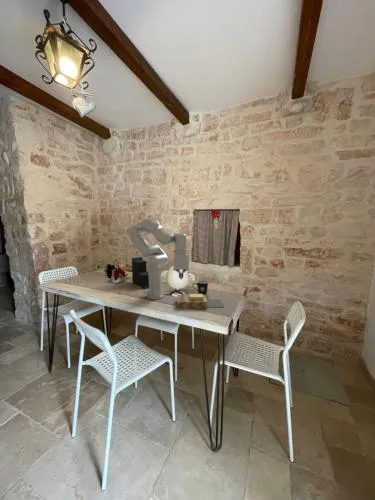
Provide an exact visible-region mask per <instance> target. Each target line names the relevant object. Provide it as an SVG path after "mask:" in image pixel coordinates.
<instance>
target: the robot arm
mask: <svg viewBox="0 0 375 500" xmlns="http://www.w3.org/2000/svg"><path fill="white" fill-rule="evenodd" d="M127 231H128V232H127V234H128V237H129V239H130V241H131V242H132V244H134V245H135V247H136V248H137V249H138V251H139V252H140V253H141V255H142V257H144V258H147V259H146V261H147V263H146V266H147V272H148V273H149V288H148V290H143V294H144V295H146V297H147V299H149V300H157V299H159V300H160V299H162V298H164V297H165V295H164V294H165V293H163V289H162V286H163V285H162V271H161V269H160V268H161V267H165V266H167V265H168V263H169V257H168V255H167V254H166V253H165V251H164V250H163V249H162V247H160V245H158V244H156V243H153V244H151V243H148V241H147V240H146V239H145V237H142V236H147V235H150V234H151V235H153V237H154V239H155V240H156V241H157V242H158V243H160V244H162V245H165V246H169V245H174V247H175V248H174V250H172V253H174V254H173V260H172V261H173V262H172V263H173V264H172V265H173V266H172V267H173V269H172V271H175V272H177V273H178V278H179V280H183V278H184V273H185V272H186V271H189V270H190V267H189V266H190V265H189V264H190V263H189V255H188V253H187V235H186V234H185V233H177V232H171V233H165V232H163V226H162V225H160V222H159V221H158V220H157V219H156V218H155V219H154V218H145V219H143V220H142V221H141V223H140V224H132V225H130V226H129V227H128V230H127Z"/></svg>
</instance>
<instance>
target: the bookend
mask: <svg viewBox="0 0 375 500" xmlns="http://www.w3.org/2000/svg"><path fill="white" fill-rule="evenodd" d="M143 257H144V256H137V257H132V258H131V278H132V280H131V281H132V283H133V284H135V286H136V285H137V286H138V287H140V288H141V289H144V290H147V289H149V273H148V266H147V260H144V259H143Z"/></svg>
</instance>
